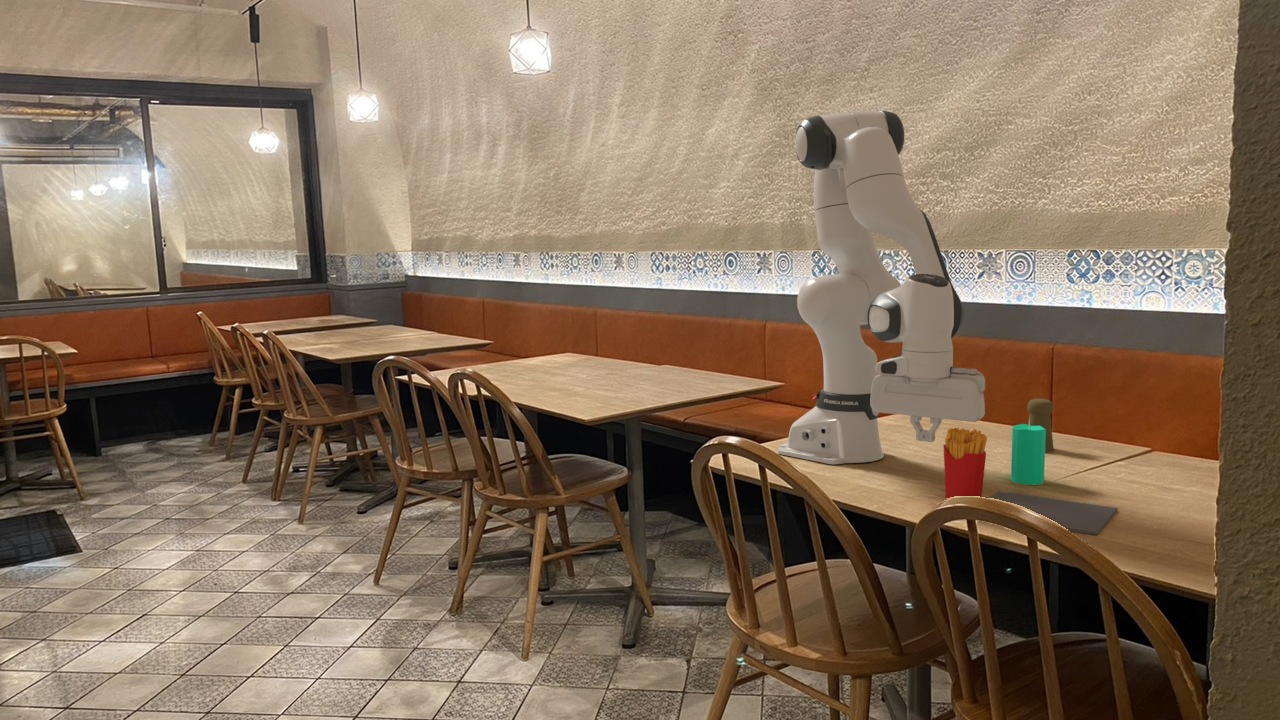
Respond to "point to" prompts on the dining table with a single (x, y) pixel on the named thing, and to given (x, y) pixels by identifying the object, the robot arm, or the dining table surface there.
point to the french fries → (964, 462)
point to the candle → (1028, 454)
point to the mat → (1064, 511)
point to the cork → (1042, 418)
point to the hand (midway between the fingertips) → (925, 440)
